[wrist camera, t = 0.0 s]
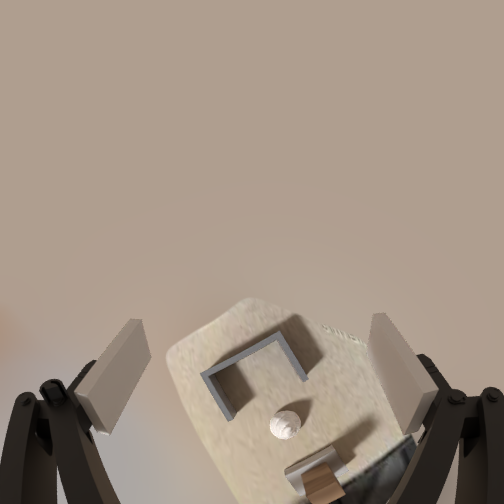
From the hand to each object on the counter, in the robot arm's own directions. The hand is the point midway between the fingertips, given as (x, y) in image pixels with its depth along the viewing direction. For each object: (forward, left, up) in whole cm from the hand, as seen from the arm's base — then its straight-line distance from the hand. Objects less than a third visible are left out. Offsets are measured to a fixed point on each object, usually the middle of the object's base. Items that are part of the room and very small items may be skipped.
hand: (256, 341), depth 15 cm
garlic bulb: (-14, +4, -36) cm, 39 cm away
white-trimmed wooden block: (-26, +4, -36) cm, 45 cm away
